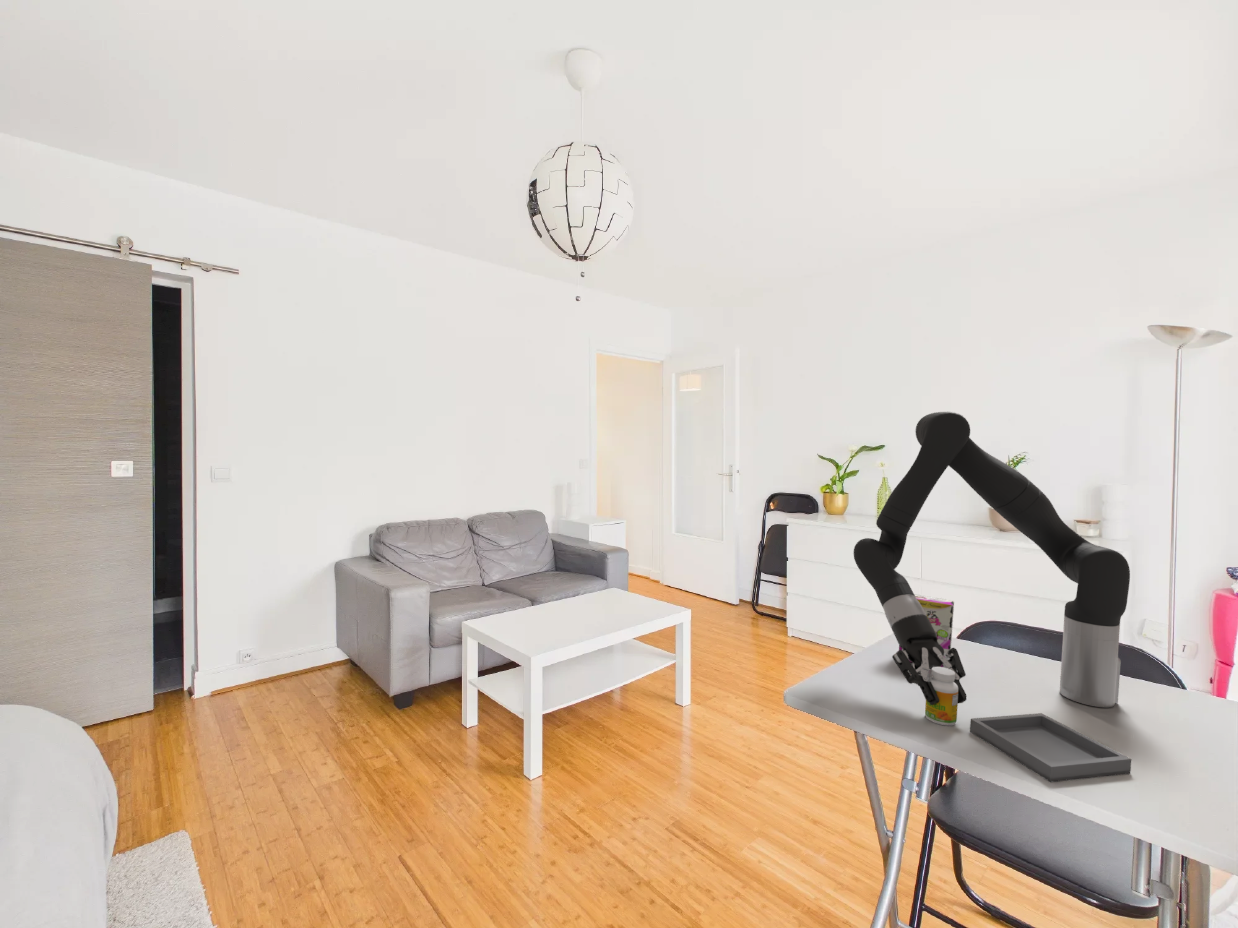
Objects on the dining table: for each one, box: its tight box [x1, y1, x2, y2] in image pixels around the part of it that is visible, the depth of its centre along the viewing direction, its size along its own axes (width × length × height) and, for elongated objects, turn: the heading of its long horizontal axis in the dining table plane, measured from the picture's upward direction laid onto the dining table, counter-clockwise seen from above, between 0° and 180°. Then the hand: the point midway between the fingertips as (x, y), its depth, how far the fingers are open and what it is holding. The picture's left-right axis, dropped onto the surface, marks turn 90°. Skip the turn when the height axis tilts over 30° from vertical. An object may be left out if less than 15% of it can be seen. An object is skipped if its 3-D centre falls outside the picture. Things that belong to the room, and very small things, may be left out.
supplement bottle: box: [924, 667, 959, 727], centre depth 111 cm, size 5×5×10 cm
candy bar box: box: [898, 593, 955, 667], centre depth 139 cm, size 11×5×16 cm, turn 58°
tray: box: [969, 712, 1132, 783], centre depth 100 cm, size 16×16×2 cm
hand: (948, 702), depth 109 cm, fingers closed on supplement bottle, 5 cm apart
